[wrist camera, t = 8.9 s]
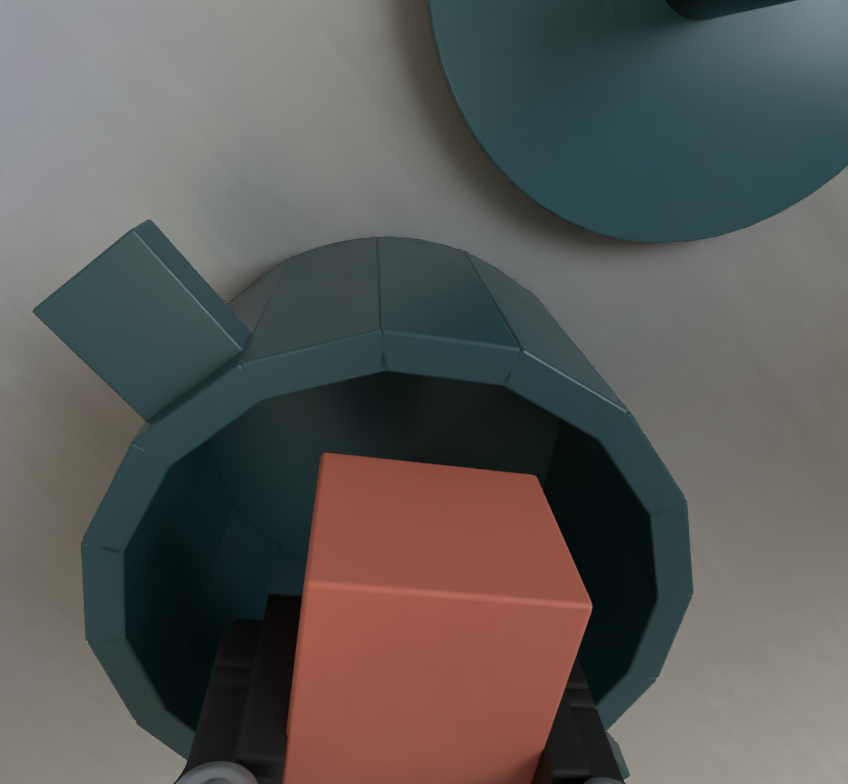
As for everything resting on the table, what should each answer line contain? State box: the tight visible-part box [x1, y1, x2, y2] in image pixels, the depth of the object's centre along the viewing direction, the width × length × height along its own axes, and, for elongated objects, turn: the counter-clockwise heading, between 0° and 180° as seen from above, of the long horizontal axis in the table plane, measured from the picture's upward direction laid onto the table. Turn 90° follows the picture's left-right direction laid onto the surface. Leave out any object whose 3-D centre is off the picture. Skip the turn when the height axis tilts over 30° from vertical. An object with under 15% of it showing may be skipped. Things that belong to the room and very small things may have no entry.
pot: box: [33, 219, 693, 780], centre depth 18 cm, size 13×18×8 cm
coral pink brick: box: [282, 452, 592, 784], centre depth 12 cm, size 8×4×4 cm, turn 170°
